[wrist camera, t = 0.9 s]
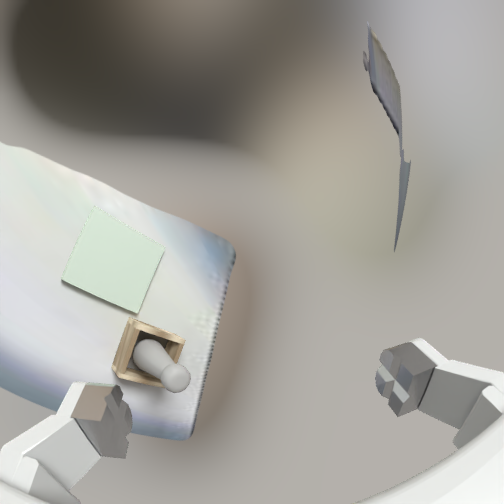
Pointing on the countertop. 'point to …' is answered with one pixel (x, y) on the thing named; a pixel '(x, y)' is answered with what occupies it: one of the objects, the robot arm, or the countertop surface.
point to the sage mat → (113, 261)
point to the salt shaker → (160, 365)
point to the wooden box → (127, 346)
